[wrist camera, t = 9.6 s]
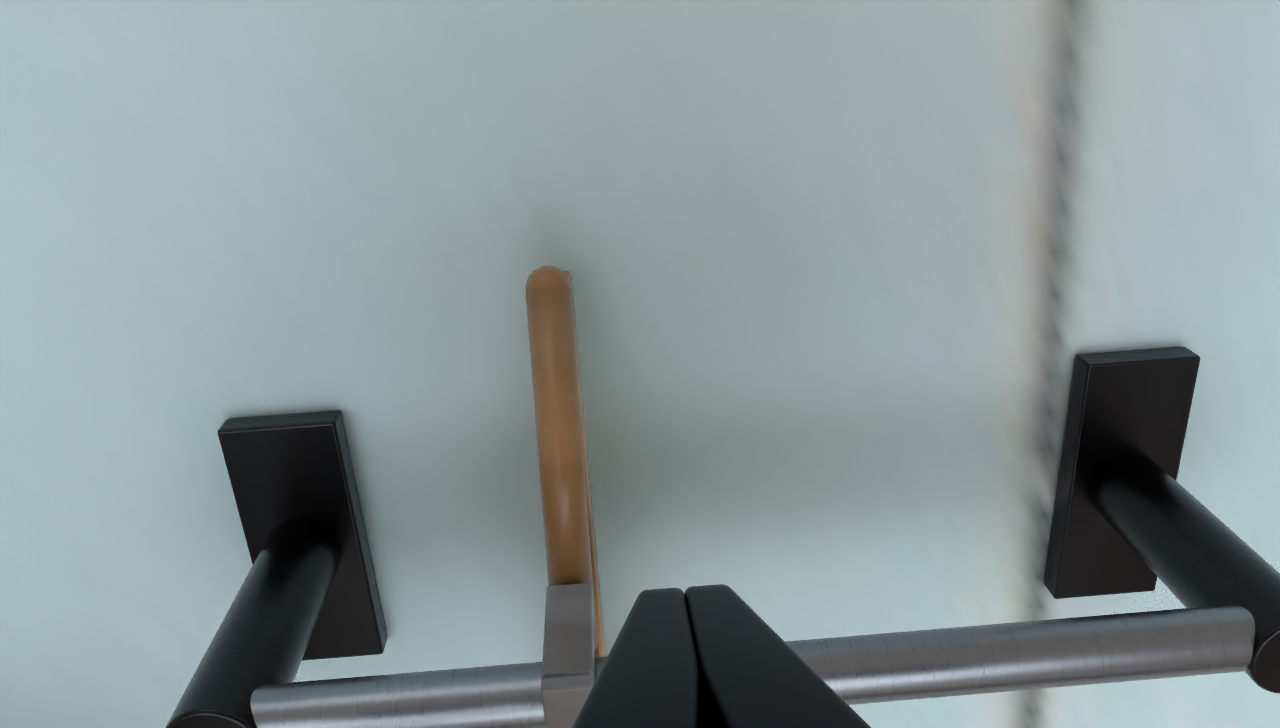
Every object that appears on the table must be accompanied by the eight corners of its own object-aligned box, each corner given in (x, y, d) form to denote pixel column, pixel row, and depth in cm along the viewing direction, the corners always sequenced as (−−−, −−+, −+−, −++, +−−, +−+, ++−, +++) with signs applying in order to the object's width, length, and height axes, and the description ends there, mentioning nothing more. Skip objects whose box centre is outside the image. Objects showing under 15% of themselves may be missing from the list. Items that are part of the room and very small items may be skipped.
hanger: (615, 760, 23) (625, 1011, 17) (582, 763, 23) (582, 1015, 17) (569, 249, 18) (563, 380, 12) (526, 252, 18) (501, 384, 12)
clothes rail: (1141, 576, 23) (1327, 783, 17) (285, 646, 22) (183, 885, 16) (1185, 345, 20) (1417, 498, 15) (225, 417, 20) (81, 605, 14)
